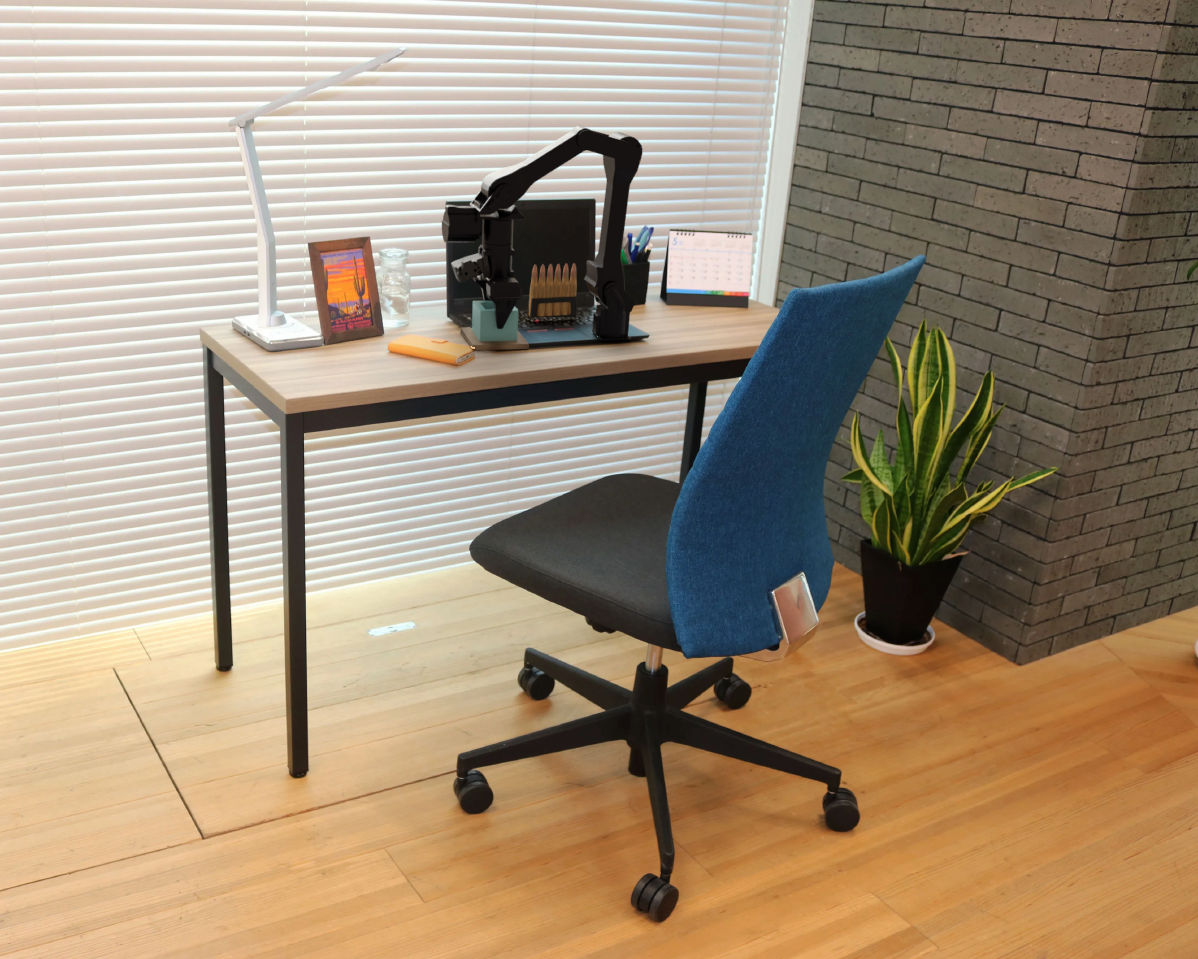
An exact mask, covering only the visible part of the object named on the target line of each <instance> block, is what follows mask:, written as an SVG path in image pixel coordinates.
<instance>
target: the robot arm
mask: <svg viewBox="0 0 1198 959" xmlns="http://www.w3.org/2000/svg"><path fill="white" fill-rule="evenodd" d="M586 151H588V152H591V153H594V154H598V155H601V156H602V162H603V163H602V164H603V168H604V173H605V179H606V185H605V192H604V194H605V195H604V201H603V208H602V218H601V219H602V220H601V225H600V236H599V244H598V250H597V251H598V252H597V255H596V256H595V258H594V260H589V259H588V260H586V272H585V276H584V278H583V280H584V281H585V282H586V288H587V290H588V291H589V292H590V293H591V294H592V295H593V296H594V299H595V303H596V302H597V303H598V304H596V308H595V312H593V315H592V316H593V317H592V327H591V328H592V329H591V333H592V332H593V333H594V334H595V335H596V336H598V337H599V338H600V339H599V338H598V339H599V341H602V342H603V341H605V342H606V341H631V339H632V337H631V336H630V335H629V330H630V327H629V326H630V318H631V317H630V316H631V312H632V311H633V309H634V307H635V305H636V302H635V300H633V298H632V297H631V296H630V295H629V294H628V292H626V290H625V288H626V286H625V285H626V284H625V283H626V280H625V271H624V267H623V261H622V251H623V250H622V249H623V243H624V242H623V241H624V234H625V228H626V218H627V212H628V204H629V203H628V202H629V195H630V189H631V184H632V181H633V180H634V178H635V176H636V175H637V173H638V171H639V167H640V163H641V160H642V157H643V145H642V144H641V143H640V141H639V139H637V138H636V137H634V136H633V135H632V136H631V135H628V134H626V133H623V132H619V131H617V132H613V133H611V134H606V133H604V132H599V131H596V130H592V129H590V128H587V127H585V126H581V125H577V126H574V127H573V128H572V129H571V130H570V131H568V132H567V133H566V134H564V135H562V136H561V137H559V138H557V139H556V140H555V141H552V142H551V143H549V144H548V145H546V146H545V147H543V148H542V149H540V150H539V151H537V152H536V153H534V154H532V155H531V156H529V157H528V158H526V159H524V160H523V161H521V162H519V163H516V164H514V165H509V166H505V167H503V168H500V169H497V170H495V171H493V172H490V173H488V174H487V175H486V176H484V177H483V179H482V181H481V186H480V189H479V192H477V194H476V195H475V196H474V198H473V199H472V200H471V202H470V203H469V205H454V204H446V205H445V208H444V209H445V210H444V213H443V216H442V220H441V235H442V238H443V242H444V243H476V242H477V240H479V239H480V237H482V241H481V243H482V244H479V246H478V248H477V250H478V251H477V253H475V254H471V255H466V256H463V257H461V258H459V259H456V260H453V261H452V262H451V263H450V265H451V268H452V270H453V273H454V276H455V279H456V280H457V281H458V283H461V284H462V283H465V282H467V281H468V280H471V279H473V280H474V282H475V283H476V285H478V286H479V287H480V289H481V292H482V298H483V301H492V302H493V303H494V310H495V318H496V325H497V329H503V327H504V325H505V323H506V322H507V320H508V318H509V316H510V314H511V312H512V310H513V308H514V307H516V305H517V303H518V301H520V300H521V298H523V292H524V291H523V290H524V287H523V285H522V284H520V282H519V281H518V280H517V279H516V278H515V272H514V270H513V269H512V268H513V267H512V266H513V264H512V263H513V256H514V257H515V255H516V251H515V249H514V248H513V240H514V239H513V238H514V237H513V236H514V220H517V221H518V220H521V221H523V220H525V215H524V214H523V213H522V212H520V210H519V209H518V206H517V205H515V204H516V203H517V202H518V201H519V200H521V198H522V197H523V196H524V195H526V193H527V191H528V190H529V189H530V188H531V186H533V185H534V184H535V183H536V182H537V181H539V180H541V179H542V178H544V177H545V176H547V175H548V174H550V173H552V172H553V171H554V170H557V169H558V168H559V167H560V168H561V166H563V165H565V164H566V163H567V162H569V161H570V160H572V159H574V158H575V157H577V156H579V155H580V154H582V153H584V152H586ZM593 333H592V334H593ZM594 334H593V335H594ZM595 335H594V336H595ZM628 335H629V336H628ZM596 336H595V337H596Z"/></svg>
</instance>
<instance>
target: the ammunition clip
mask: <svg viewBox="0 0 1198 959" xmlns="http://www.w3.org/2000/svg"><path fill="white" fill-rule="evenodd" d="M553 268H554V267H553V264H552V263H550V264H549V265H548V269H547V276H546V268H545V265H544V263H542V265H541V266H540V270H539V278H538V267H537V264H534V265H533V267H532V270H531V279H530V280H531V282H530V287H529V296H528V304H527V311H526V312H527V315H526V317H527V316H528V315H529V316H530V318H534V317H577V316H578V315H577V314H578V312H577V310H578V308H577V304H578V296H577V286H578V285H577V284H578V282H577V265H576V263H575V262H573V264H572V267H571V270H569V265H568V263H565V265H564V266H563V271H562V270H561V265H560V263H558V264H557V265H556V267H555V272H554V270H553ZM569 271H570V272H569ZM561 272H562V273H561ZM569 274H570V278H569ZM561 277H562V279H561Z"/></svg>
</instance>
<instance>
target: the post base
mask: <svg viewBox="0 0 1198 959" xmlns="http://www.w3.org/2000/svg"><path fill="white" fill-rule="evenodd" d="M471 327H472V326H471ZM471 327H470V326H469V327H467V326H466V327H464V326H463V327H460V334H461V335H462V336H463V339H465V341H466V342H467V344H468V345H469V347H470V346H472V347H475V349H476V350H475V351H490V350H492V351H493V350H496V351H497V350H529V349H530V343H529V342H528V341H527V339H526V338H525V337H524V336H523V334H522V333H521V332H520V331H519V330H518V333H517V341H479V340H478V338H477V337H476V336H475V334H474V333H473V331H472V328H471Z"/></svg>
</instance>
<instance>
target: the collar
mask: <svg viewBox="0 0 1198 959" xmlns="http://www.w3.org/2000/svg"><path fill="white" fill-rule="evenodd" d="M471 311H472V312H471V313H472V315H471V316H472V317H471V318H472V319H471V327H472V331H473V333H474V334H475V336H476V337H477V338H478V340H479V341H517V333H518V331H519V328H518V327H519V309H518V308H517V307H516V306H515V307H514V308H513V310H512V312H511V314H510V316H509V318H508V320H507V322H506V323H505V325H504V327H503V329H497V325H496V318H495V310H494V303H493V302H492V301H484V300H472V310H471Z"/></svg>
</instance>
